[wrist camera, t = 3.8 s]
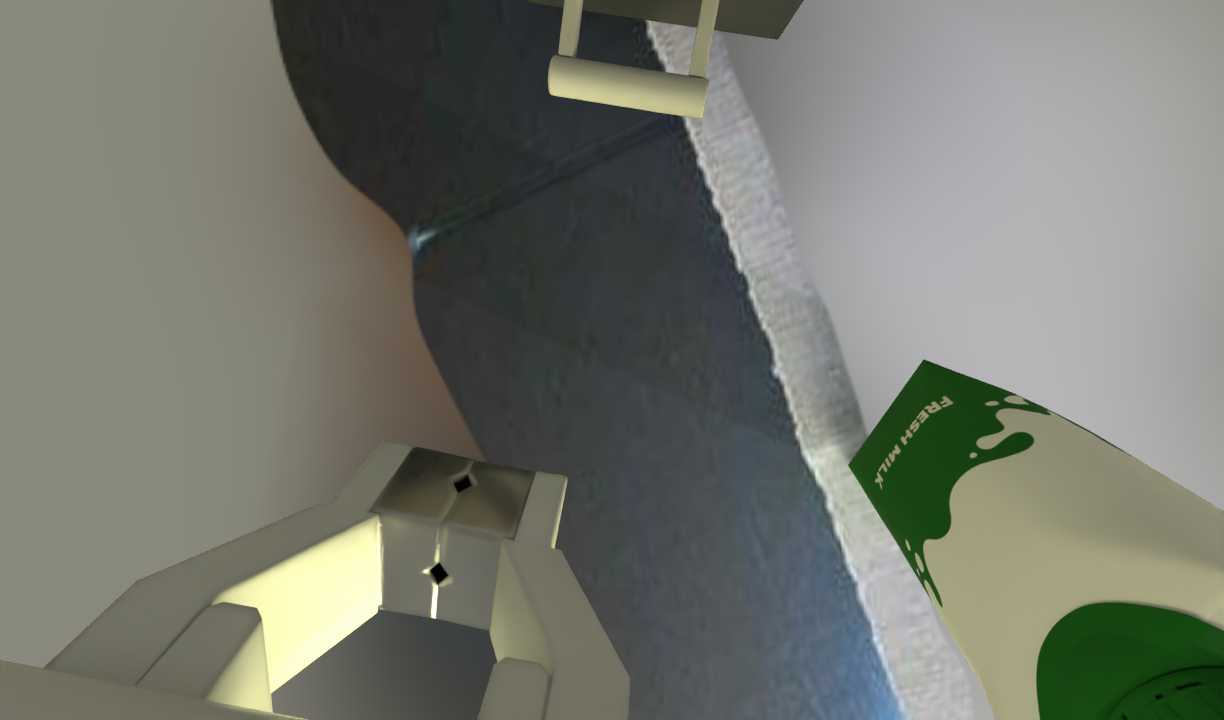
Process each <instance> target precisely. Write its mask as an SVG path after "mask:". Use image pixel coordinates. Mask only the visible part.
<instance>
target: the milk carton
mask: <svg viewBox="0 0 1224 720" xmlns="http://www.w3.org/2000/svg"><path fill="white" fill-rule="evenodd" d="M848 466H849V467H850V469H851V470H852V472H853V474H854V475H855V477H856V478H857V480H858V482H859V483H860V485H861V487H862V488H863V490H864V491H865V493H866V495H867V496H868V498H869V499H870V501H871V503H872V504H873V506H874V508H875V509H876V511H877V512H878V514H879V516H880V517H881V519H882V520H883V522H884V523H885V525H886V527H887V528H888V530H889V531H890V533H891V534H892V536H893V537H894V539H895V541H896V542H897V544H898V546H899V547H900V549H901V551H902V552H903V554H904V556H905V557H906V559H907V561H908V562H909V564H910V566H911V567H912V569H913V571H914V572H915V574H916V576H917V577H918V579H919V581H920V582H921V584H922V586H923V587H924V589H925V591H926V592H927V594H928V596H929V597H930V599H931V601H932V602H933V604H934V606H935V607H936V609H937V611H938V612H939V614H940V616H941V617H942V619H943V621H944V622H945V624H946V626H947V627H948V629H949V631H950V632H951V634H952V636H953V637H954V639H955V640H956V642H957V644H958V646H959V647H960V649H961V651H962V652H963V654H964V656H965V657H966V659H967V661H968V662H969V664H970V666H971V667H972V669H973V671H974V673H975V674H976V676H977V677H978V679H979V681H980V683H981V685H982V687H983V689H984V691H985V693H986V696H987V698H988V701H989V704H990V707H991V709H992V712H993V715H994V718H995V720H1224V511H1223V510H1221V509H1219V508H1218V507H1216V506H1214V505H1213V504H1211V503H1209V502H1208V501H1206V500H1204V499H1203V498H1201V497H1199V496H1198V495H1196V494H1194V493H1193V492H1191V491H1189V490H1188V489H1186V488H1184V487H1183V486H1181V485H1179V484H1178V483H1176V482H1174V481H1173V480H1171V479H1169V478H1168V477H1166V476H1164V475H1163V474H1161V473H1160V472H1158V471H1156V470H1154V469H1153V468H1151V467H1149V466H1148V465H1146V464H1144V463H1143V462H1141V461H1139V460H1138V459H1136V458H1134V457H1133V456H1131V455H1129V454H1127V453H1126V452H1124V451H1123V450H1121V449H1119V448H1118V447H1116V446H1114V445H1113V444H1111V443H1109V442H1108V441H1106V440H1104V439H1103V438H1101V437H1099V436H1098V435H1096V434H1094V433H1092V432H1091V431H1089V430H1087V429H1085V428H1083V427H1081V426H1079V425H1077V424H1075V423H1074V422H1072V421H1070V420H1068V419H1066V418H1064V417H1062V416H1060V415H1058V414H1056V413H1054V412H1052V411H1050V410H1048V409H1046V408H1044V407H1042V406H1040V405H1038V404H1036V403H1033V402H1031V401H1029V400H1027V399H1025V398H1022V397H1020V396H1018V395H1016V394H1014V393H1012V392H1009V391H1006V390H1004V389H1001V388H999V387H996V386H993V385H991V384H988V383H985V382H982V381H979V380H977V379H974V378H971V377H968V376H965V375H963V374H960V373H957V372H955V371H952V370H950V369H947V368H944V367H942V366H939V365H937V364H934V363H932V362H929V361H926V360H923V361H922V363H921V364H920V366H919V367H918V369H917V370H916V371H915V373H914V374H913V375H912V377H911V378H910V380H909V381H908V382H907V384H906V385H905V386H904V388H903V389H902V391H901V392H900V393H899V395H898V396H897V398H896V399H895V400H894V402H893V403H892V405H891V406H890V407H889V409H888V410H887V412H886V413H885V414H884V416H883V417H882V419H881V420H880V422H879V423H878V424H877V426H876V427H875V428H874V430H873V431H872V433H871V434H870V435H869V437H868V438H867V440H866V441H865V442H864V444H863V445H862V447H861V448H860V449H859V451H858V452H857V454H856V455H855V456H854V458H853V459H852V461H851V462H850V463H849V465H848Z"/></svg>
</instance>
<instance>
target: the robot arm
mask: <svg viewBox="0 0 1224 720" xmlns="http://www.w3.org/2000/svg"><path fill="white" fill-rule="evenodd" d="M566 485H567V477H566V476H563V475H557V474H551V473H545V472H539V471H537V472H534V471H529V470H523V469H518V468H513V467H508V466H503V465H498V464H492V463H487V462H482V461H477V460H474V459H469V458H465V457H461V456H456V455H452V454H447V453H443V452H438V451H433V450H429V449H424V448H420V447H414V446H410V445H405V444H400V443H395V442H391V441H385V442H382V443H381V444H379V445H378V446H377V447H376V449H375V450H374V451H373V452H372V454H371V455H370V456H369V457H368V459H367V460H366V461H365V462H364V464H363V465H362V466H361V468H360V469H359V470H358V471H357V472H356V474H355V475H354V476H353V477H352V479H351V480H350V481H349V482H348V484H347V485H346V486H345V487H344V489H343V490H342V491H341V492H340V494H339V495H338V496H337V498H336V499H335V500H334V501H333V502H332V504H325V503H319V504H317V505H315V506H312V507H310V508H307V509H305V510H303V511H301V512H298V513H296V514H293V515H291V516H289V517H286V518H284V519H282V520H279V521H277V522H275V523H272V524H270V525H267V526H265V527H263V528H261V529H258V530H256V531H253V532H251V533H249V534H247V535H244V536H242V537H239V538H237V539H234V540H232V541H230V542H228V543H225V544H223V545H220V546H218V547H216V548H213V549H211V550H209V551H206V552H204V553H201V554H200V555H197V556H194V557H192V558H190V559H187V560H185V561H183V562H180V563H178V564H176V565H173V566H171V567H168V568H166V569H164V570H162V571H159V572H157V573H154V574H152V575H150V576H147V577H145V578H143V579H140V580H138V581H136V582H135V583H134V584H133V585H132V586H131V587H130V588H129V589H127V591H125V592H124V593H123V594H122V595H121V596H120V597H119V598H118V599H117V600H116V601H115V602H114V603H113V604H111V605H110V606H109V607H108V608H107V609H106V610H105V611H104V612H103V613H102V614H101V615H100V616H99V617H97V618H96V619H95V620H94V621H93V622H92V623H91V624H90V625H89V626H88V627H87V628H86V629H85V630H84V631H82V633H80V634H79V635H78V636H77V637H76V638H75V639H74V640H73V641H72V642H71V643H70V644H69V645H67V646H66V647H65V648H64V650H62V651H61V652H60V653H59V654H58V655H57V656H56V657H55V658H54V659H52V660H51V662H49V663H48V664H47V665H46V666H45V667H44V668H38V667H33V666H27V665H23V664H17V663H12V662H7V661H2V660H0V720H308V719H302V718H297V717H292V716H287V715H282V714H277V713H273V709H272V701H271V693H272V692H273V691H274V690H276V689H277V688H278V687H280V686H281V685H282V684H284V683H285V682H286V681H288V680H289V679H290V678H292V677H293V676H294V675H296V674H297V673H298V672H299V671H301V670H302V669H303V668H305V667H306V666H307V665H309V664H310V663H311V662H313V661H314V660H315V659H316V658H318V657H319V656H321V655H322V654H323V653H325V652H326V651H327V650H329V649H330V648H331V647H333V646H334V645H335V644H336V643H338V642H339V641H340V640H342V639H343V638H344V637H346V636H347V635H348V634H350V633H351V632H352V631H354V630H355V629H356V628H358V627H359V626H360V625H362V624H363V623H364V622H365V621H367V620H368V619H369V618H371V617H372V616H373V615H375V614H376V613H377V612H378V609H382V610H388V611H395V612H400V613H407V614H412V615H419V616H424V617H430V618H436V619H440V620H445V621H449V622H454V623H458V624H463V625H468V626H472V627H476V628H481V629H485V630H489V631H490V636H491V640H492V643H493V647H494V651H495V654H496V658H497V663H496V664H494V666H493V670H492V673H491V676H490V680H489V683H488V686H487V689H486V693H485V696H484V699H483V703H482V706H481V709H480V712H479V715H478V719H477V720H628V711H629V691H630V677H629V675H628V674H627V672H626V670H625V668H624V666H623V664H622V663H621V661H620V659H619V657H618V655H617V653H616V651H615V650H614V648H613V646H612V644H611V642H610V640H609V639H608V637H607V635H606V633H605V631H604V629H603V627H602V626H601V624H600V622H599V620H598V618H597V616H596V614H595V613H594V611H593V609H592V607H591V605H590V603H589V602H588V600H587V598H586V596H585V594H584V592H583V590H582V589H581V587H580V585H579V583H578V581H577V579H576V578H575V576H574V574H573V572H572V570H571V568H570V566H569V565H568V563H567V561H566V559H565V557H564V555H563V554H562V552H561V550H558V549H554V548H555V542H556V537H557V532H558V527H559V522H560V516H561V511H562V506H563V501H564V495H565V490H566Z"/></svg>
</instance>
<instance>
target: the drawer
mask: <svg viewBox="0 0 1224 720" xmlns="http://www.w3.org/2000/svg"><path fill="white" fill-rule="evenodd" d="M527 1H528V2H530V3H536V4H543V5H550V6H556V7H563V8H564V9H563V18H562V26H561V35H560V44H559V52H558V53H559V55H560V56H558V55H555V56H553V57H552V59H551V62H550V66H549V73H548V88H549V92H550V94H551V95H554V96H560V97H566V98H572V99H579V100H585V101H591V102H597V103H604V104H610V105H616V106H622V107H629V108H635V109H641V110H647V111H654V112H660V113H666V114H672V115H679V116H685V117H691V118H697V119H701V118H702V117H703V112H704V107H705V102H706V97H707V92H708V86H709V80H708V79H706V78H705V73H706V68H707V62H708V57H709V52H710V47H711V41H712V36H713V31H714V30H717V31H723V32H730V33H737V34H744V35H750V36H757V37H764V38H770V39H778V38H779V37H780V36H781V34H782V33H783V31H784V29H785V28H786V26H787V25H788V23H789V22H790V20H791V19H792V17H793V15H794V14H795V12H796V11H797V9H798V8H799V6H800V5H801V3H802V2H803V0H527ZM582 10H583V11H590V12H596V13H603V14H610V15H616V16H623V17H630V18H637V19H643V20H650V21H657V22H663V23H670V24H677V25H683V26H690V27H697V32H696V38H695V43H694V49H693V54H692V60H691V65H690V71H689V76H687V75H680V74H674V73H667V72H661V71H654V70H648V69H641V68H635V67H629V66H622V65H616V64H609V63H603V62H596V61H590V60H583V59H577V58H576V54H577V46H578V38H579V30H580V22H581V14H582Z"/></svg>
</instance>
